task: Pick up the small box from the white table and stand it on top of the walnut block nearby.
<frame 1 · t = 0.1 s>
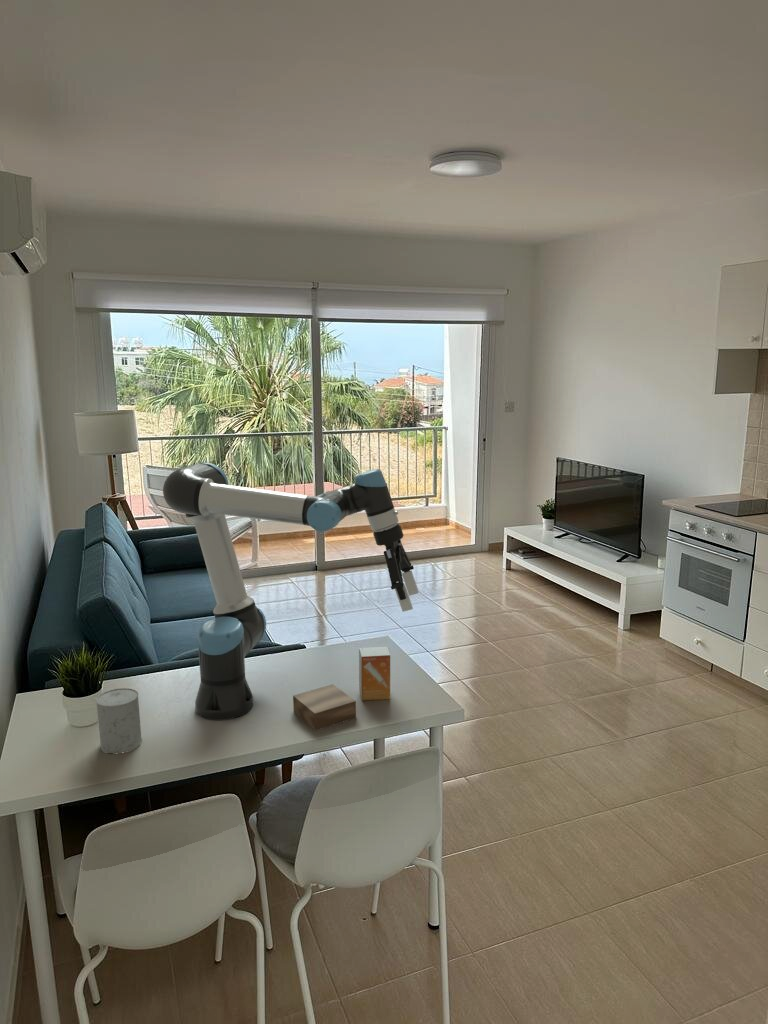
hand: (411, 601, 194), 28 cm above the table, tool tilted 20°, fingers open, 13 cm apart
walnut block: (324, 715, 191), on the table
grey marble cylinder: (121, 744, 177), on the table
small box: (374, 696, 202), on the table
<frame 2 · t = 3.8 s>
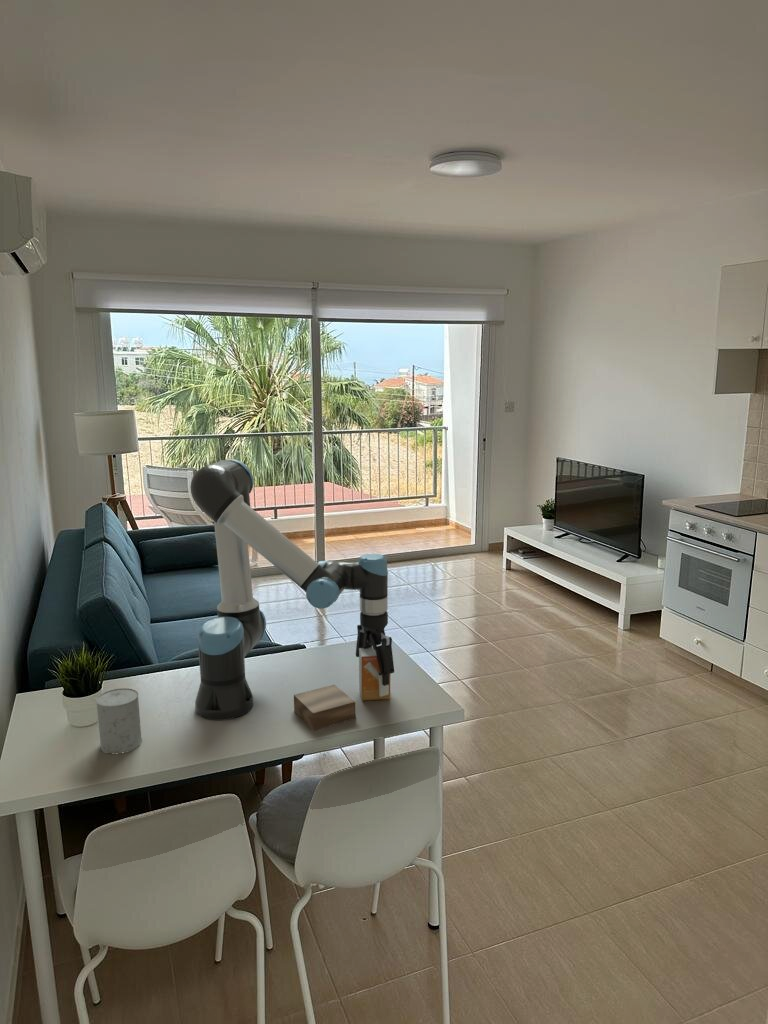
hand: (374, 689, 201), 2 cm above the table, tool pointing down, fingers closed on small box, 8 cm apart
small box: (374, 695, 201), on the table, touching gripper
everything else where it was.
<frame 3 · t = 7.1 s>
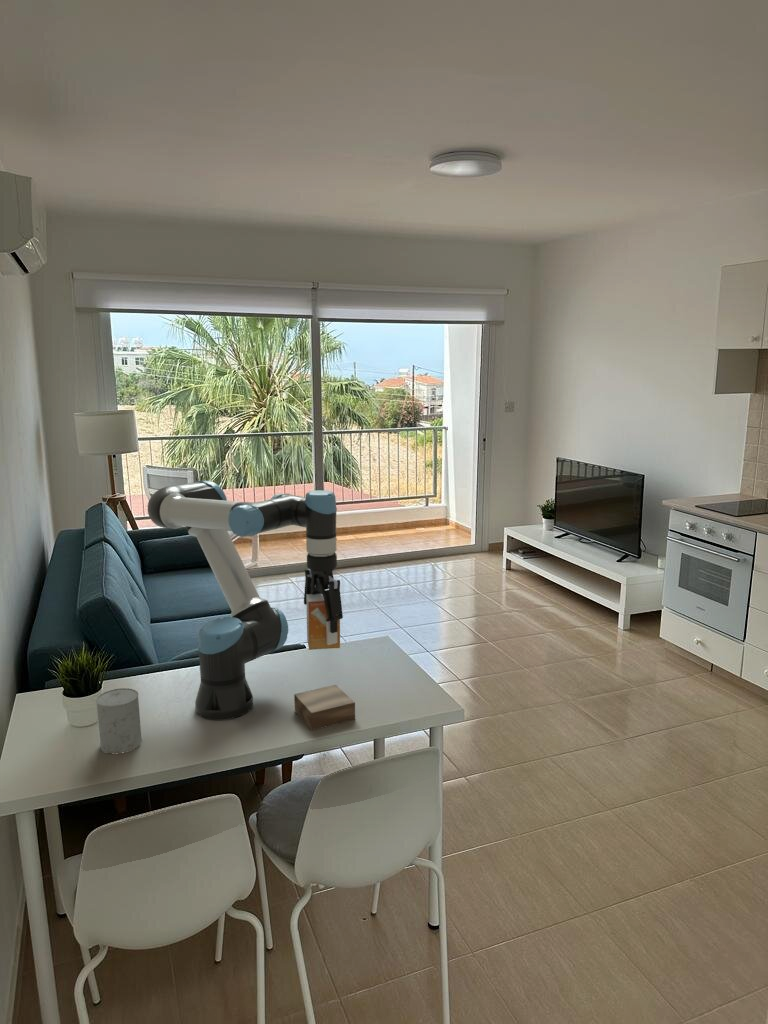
hand: (323, 638, 187), 21 cm above the table, tool pointing down, fingers closed on small box, 8 cm apart
small box: (323, 645, 187), point 19 cm above the table, touching gripper
everything else where it was.
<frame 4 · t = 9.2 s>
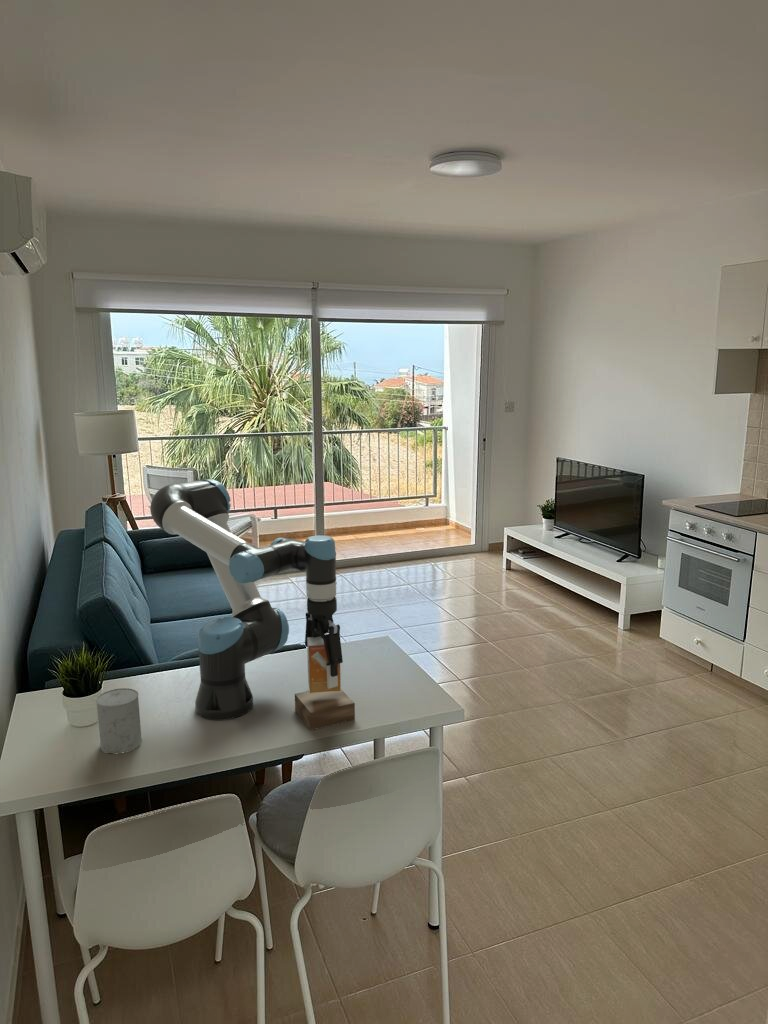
hand: (324, 680, 189), 10 cm above the table, tool pointing down, fingers closed on small box, 8 cm apart
small box: (324, 688, 189), point 7 cm above the table, touching gripper
everything else where it was.
when the fingers open (8 cm above the table, at t = 10.5 s): small box drops 1 cm, point 5 cm above the table.
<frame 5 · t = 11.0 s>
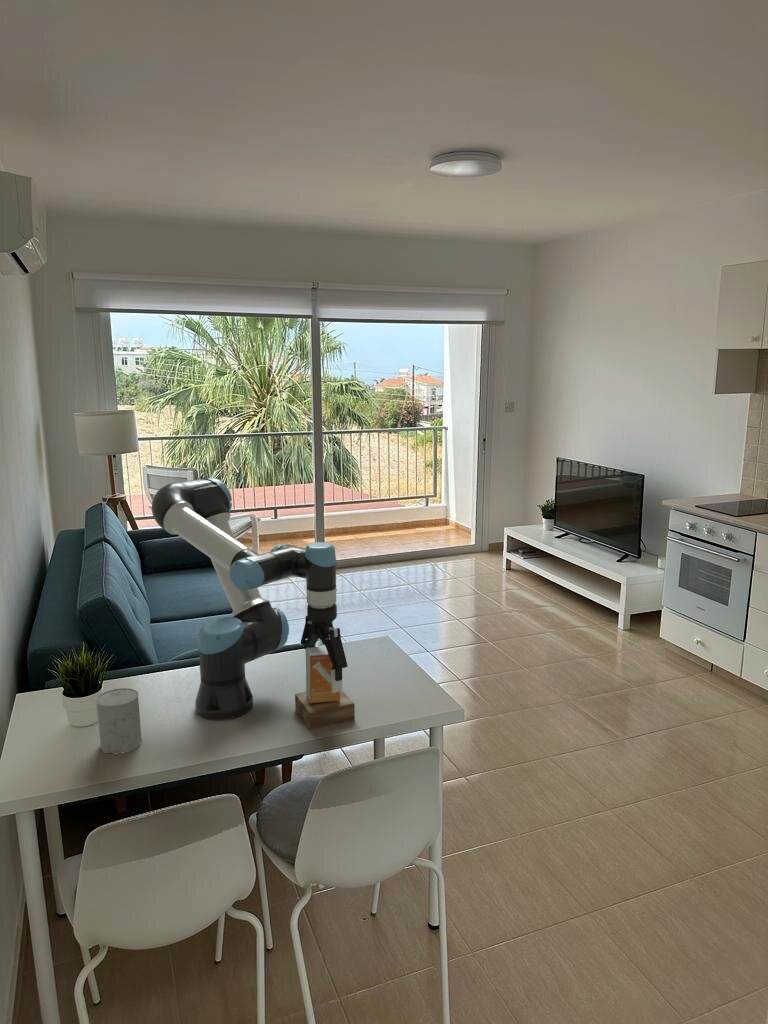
hand: (323, 681, 189), 9 cm above the table, tool pointing down, fingers open, 13 cm apart
small box: (323, 698, 190), point 5 cm above the table
everything else where it was.
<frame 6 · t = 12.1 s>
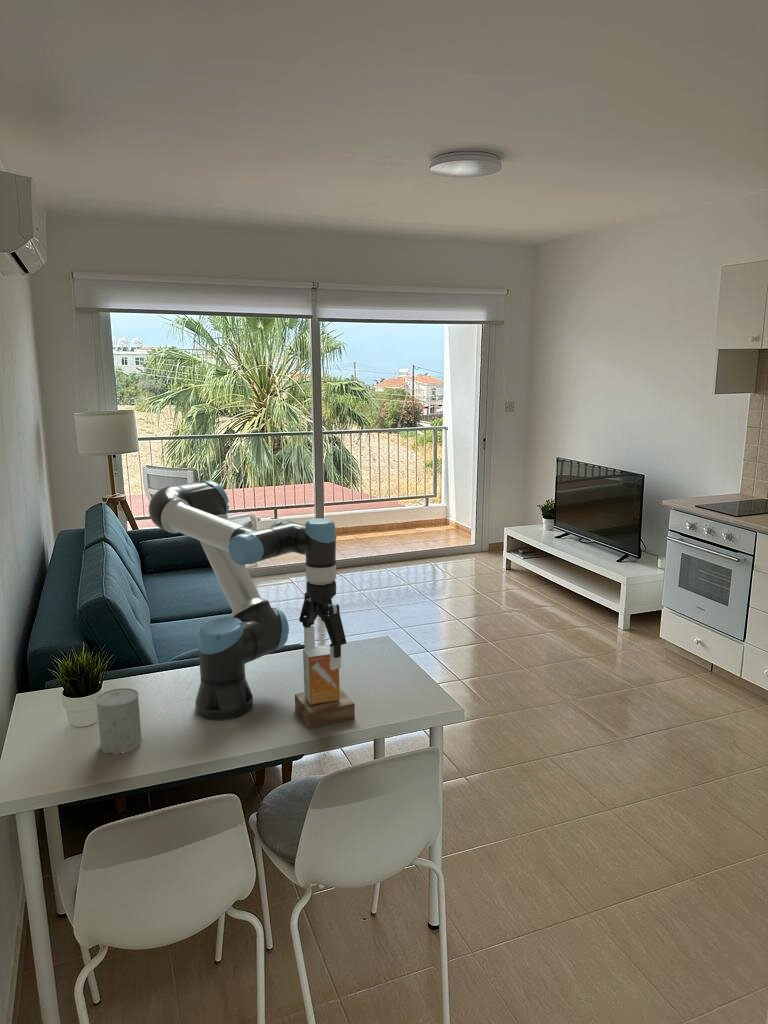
hand: (322, 659, 188), 15 cm above the table, tool pointing down, fingers open, 13 cm apart
walnut block: (324, 716, 191), on the table, touching small box
small box: (322, 699, 190), point 4 cm above the table, touching walnut block
everything else where it was.
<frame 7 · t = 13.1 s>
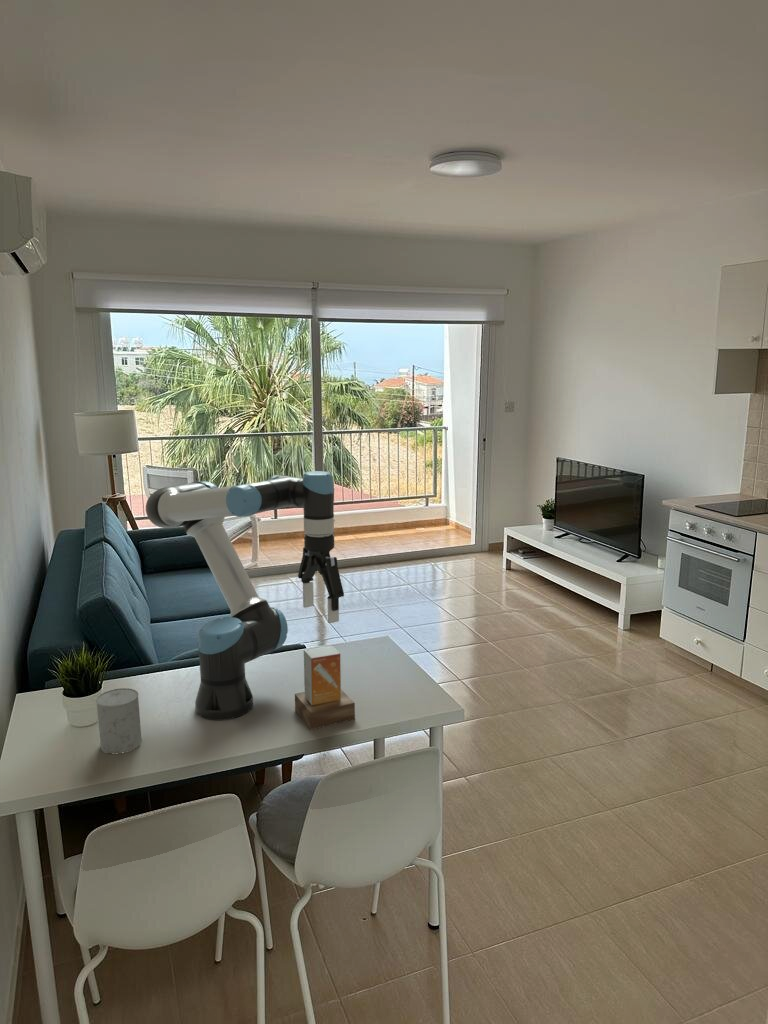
hand: (320, 614, 186), 27 cm above the table, tool pointing down, fingers open, 13 cm apart
nothing on the table moved.
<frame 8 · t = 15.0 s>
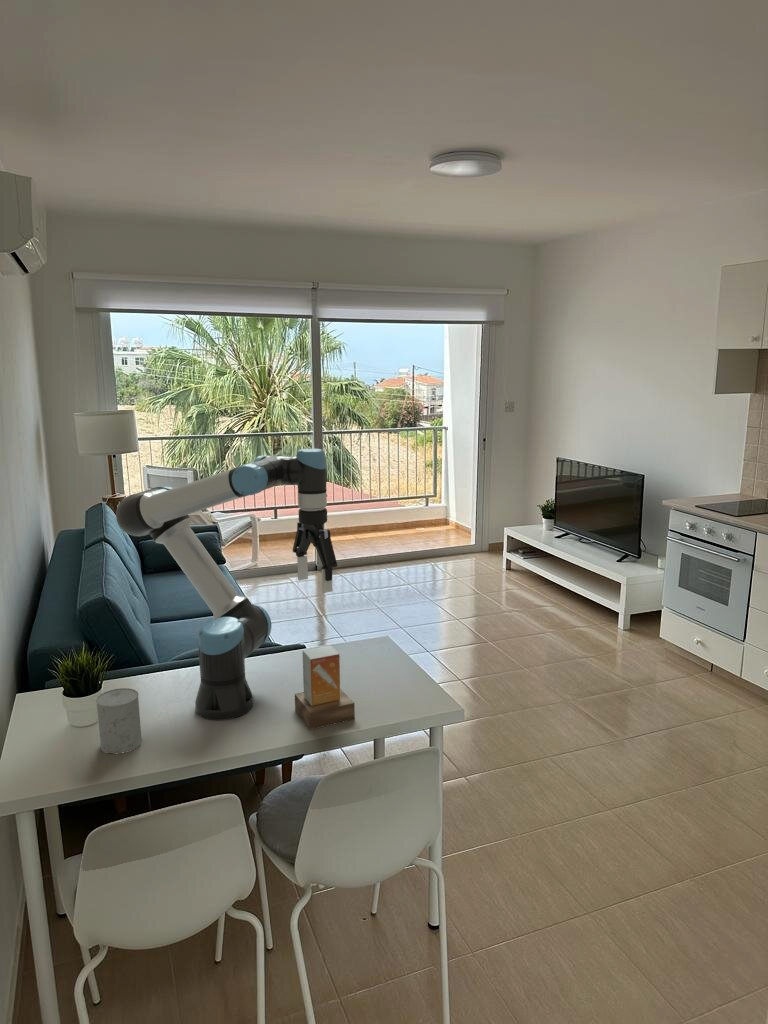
hand: (314, 585, 195), 32 cm above the table, tool pointing down, fingers open, 13 cm apart
walnut block: (324, 715, 191), on the table
small box: (322, 699, 190), point 4 cm above the table
everything else where it was.
at the end: small box 0.6 cm off-centre on the walnut block, point 4.9 cm above the walnut block's base; small box tilted 1°; the gripper is holding nothing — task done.
